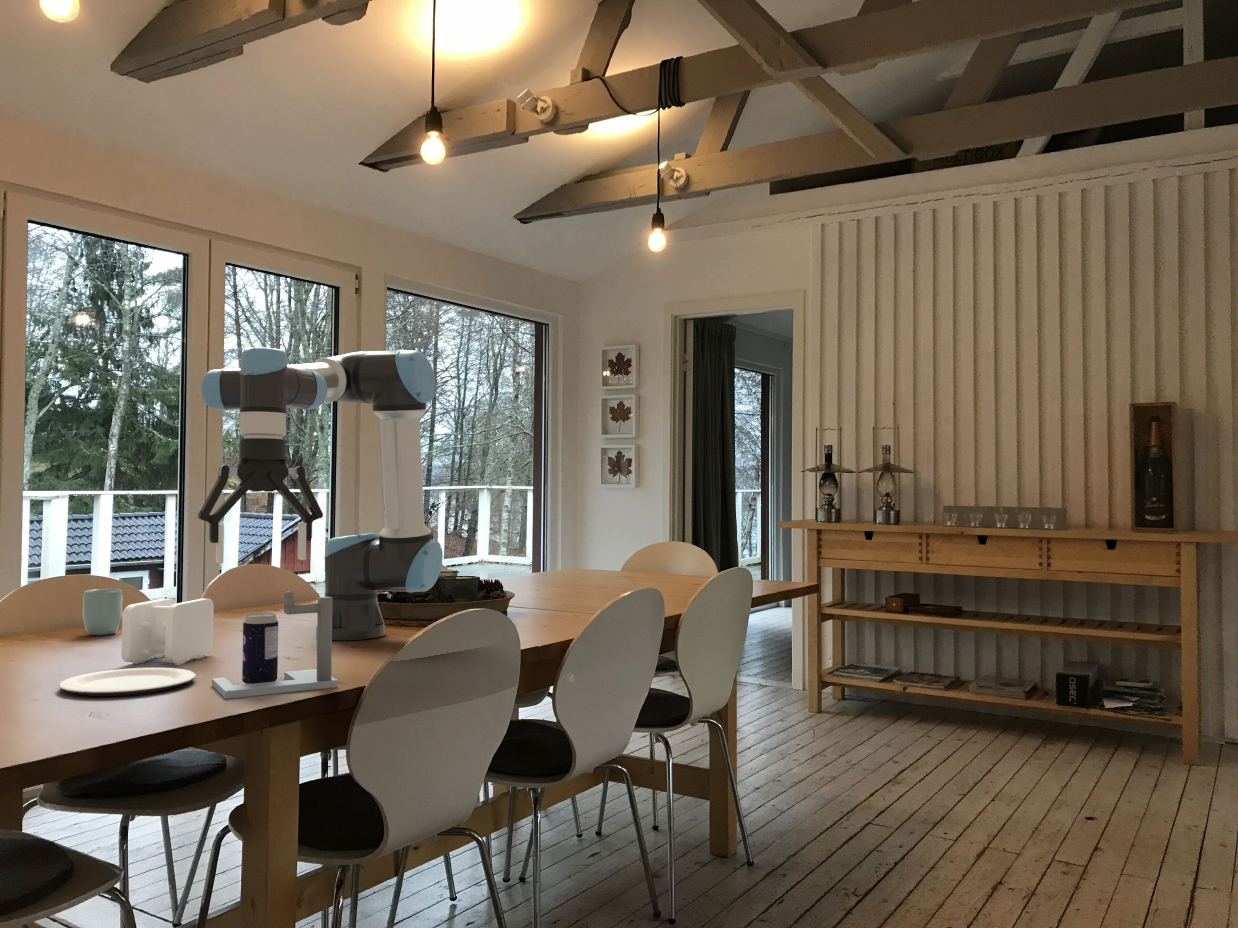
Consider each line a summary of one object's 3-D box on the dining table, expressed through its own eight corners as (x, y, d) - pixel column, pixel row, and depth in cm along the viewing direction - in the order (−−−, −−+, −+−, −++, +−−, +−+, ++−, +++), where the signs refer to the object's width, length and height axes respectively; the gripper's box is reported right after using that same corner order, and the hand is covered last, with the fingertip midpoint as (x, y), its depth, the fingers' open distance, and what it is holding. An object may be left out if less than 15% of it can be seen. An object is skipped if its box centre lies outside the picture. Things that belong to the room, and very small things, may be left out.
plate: (103, 675, 175) (103, 665, 175) (216, 676, 175) (216, 667, 175) (29, 700, 155) (30, 689, 155) (158, 702, 154) (158, 691, 154)
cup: (109, 636, 218) (110, 592, 218) (75, 636, 218) (76, 592, 218) (127, 631, 226) (128, 588, 226) (94, 631, 226) (95, 588, 226)
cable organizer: (170, 668, 181) (171, 606, 181) (118, 666, 182) (119, 605, 182) (214, 655, 196) (215, 597, 196) (165, 653, 197) (166, 596, 197)
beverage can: (268, 680, 170) (269, 611, 170) (283, 685, 166) (284, 615, 166) (236, 684, 166) (237, 614, 166) (250, 689, 162) (251, 617, 162)
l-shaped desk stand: (318, 675, 175) (319, 583, 175) (337, 686, 165) (338, 589, 165) (211, 685, 165) (213, 588, 166) (225, 698, 155) (227, 594, 155)
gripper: (329, 440, 177) (328, 556, 176) (181, 436, 164) (179, 562, 163) (341, 439, 171) (340, 559, 170) (188, 434, 157) (186, 565, 157)
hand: (261, 561), depth 167 cm, fingers open, 13 cm apart
